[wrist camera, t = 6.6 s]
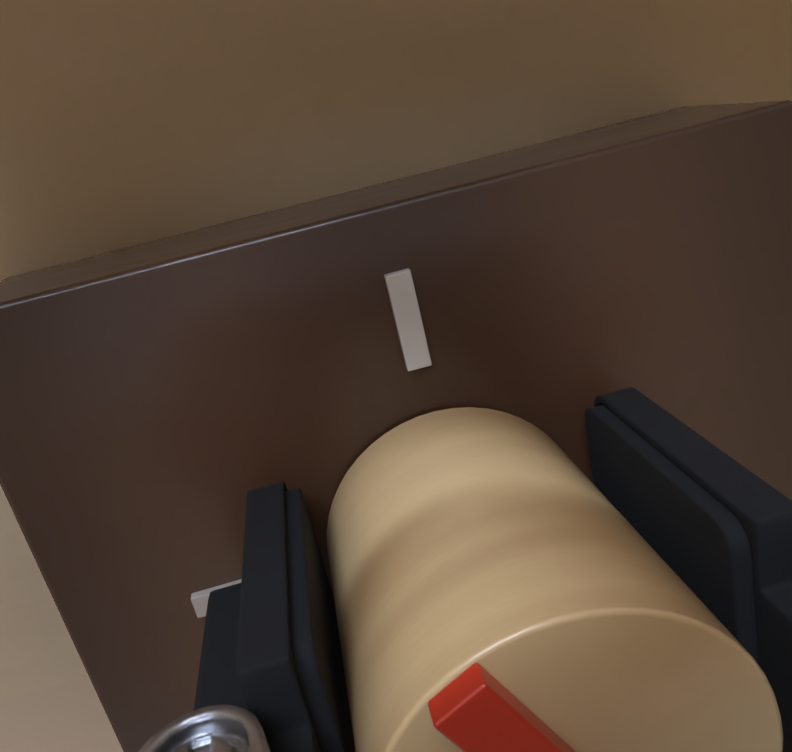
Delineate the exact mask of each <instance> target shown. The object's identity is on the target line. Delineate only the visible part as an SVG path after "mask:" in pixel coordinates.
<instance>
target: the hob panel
mask: <svg viewBox="0 0 792 752" xmlns="http://www.w3.org/2000/svg"><path fill="white" fill-rule="evenodd" d="M630 387H633V388H635V389H637V390H638V391H639V392H641V393H642V394H644V395H645V396H646V397H648V398H649V399H651V400H652V401H653V402H655V403H656V404H658V405H659V406H660V407H662V408H663V409H665V410H666V411H667V412H669V413H670V414H671V415H673V416H674V417H676V418H677V419H678V420H680V421H681V422H683V423H684V424H685V425H687V426H688V427H690V428H691V429H692V430H694V431H695V432H697V433H698V434H699V435H701V436H702V437H704V438H705V439H706V440H708V441H709V442H711V443H712V444H713V445H715V446H716V447H717V448H719V449H720V450H722V451H723V452H724V453H726V454H727V455H729V456H730V457H731V458H733V459H734V460H736V461H737V462H738V463H740V464H741V465H743V466H744V467H745V468H747V469H748V470H750V471H751V472H752V473H754V474H755V475H757V476H758V477H759V478H761V479H762V480H763V481H765V482H766V483H768V484H769V485H770V486H772V487H773V488H775V489H776V490H777V491H779V492H780V493H782V494H783V495H784V496H786V497H787V498H789V499H790V500H791V501H792V101H788V100H787V101H770V102H754V103H737V104H720V105H704V106H687V107H681V108H677V109H673V110H669V111H665V112H661V113H657V114H653V115H649V116H645V117H641V118H637V119H633V120H629V121H625V122H621V123H618V124H614V125H610V126H606V127H602V128H598V129H594V130H590V131H586V132H582V133H578V134H574V135H570V136H566V137H562V138H558V139H554V140H551V141H547V142H543V143H539V144H535V145H531V146H527V147H523V148H519V149H515V150H511V151H507V152H503V153H499V154H495V155H491V156H487V157H484V158H480V159H476V160H472V161H468V162H464V163H460V164H456V165H452V166H448V167H444V168H440V169H436V170H432V171H428V172H424V173H420V174H417V175H413V176H409V177H405V178H401V179H397V180H393V181H389V182H385V183H381V184H377V185H373V186H369V187H365V188H361V189H357V190H353V191H350V192H346V193H342V194H338V195H334V196H330V197H326V198H322V199H318V200H314V201H310V202H306V203H302V204H298V205H294V206H290V207H286V208H283V209H279V210H275V211H271V212H267V213H263V214H259V215H255V216H251V217H247V218H243V219H239V220H235V221H231V222H227V223H223V224H219V225H216V226H212V227H208V228H204V229H200V230H196V231H192V232H188V233H184V234H180V235H176V236H172V237H168V238H164V239H160V240H156V241H152V242H149V243H145V244H141V245H137V246H133V247H129V248H125V249H121V250H117V251H113V252H109V253H105V254H101V255H97V256H93V257H89V258H85V259H81V260H78V261H74V262H70V263H66V264H62V265H58V266H54V267H50V268H46V269H42V270H38V271H34V272H30V273H26V274H22V275H18V276H14V277H11V278H7V279H4V280H2V281H1V282H0V484H1V486H2V489H3V491H4V493H5V495H6V497H7V499H8V502H9V504H10V506H11V508H12V510H13V512H14V515H15V517H16V519H17V521H18V523H19V525H20V528H21V530H22V532H23V534H24V536H25V538H26V541H27V543H28V545H29V547H30V549H31V551H32V554H33V556H34V558H35V560H36V562H37V564H38V567H39V569H40V571H41V573H42V575H43V577H44V580H45V582H46V584H47V586H48V588H49V590H50V593H51V595H52V597H53V599H54V601H55V603H56V606H57V608H58V610H59V612H60V614H61V616H62V619H63V621H64V623H65V625H66V627H67V629H68V632H69V634H70V636H71V638H72V640H73V642H74V645H75V647H76V649H77V651H78V653H79V655H80V658H81V660H82V662H83V664H84V666H85V669H86V671H87V673H88V675H89V677H90V679H91V682H92V684H93V686H94V688H95V690H96V692H97V695H98V697H99V699H100V701H101V703H102V705H103V708H104V710H105V712H106V714H107V716H108V718H109V721H110V723H111V725H112V727H113V729H114V731H115V734H116V736H117V738H118V740H119V742H120V744H121V747H122V749H123V751H124V752H138V751H139V750H140V749H141V748H142V747H143V745H144V744H145V743H146V742H147V740H148V739H149V738H150V737H152V736H153V735H154V734H155V733H156V732H158V731H159V730H160V729H161V728H163V727H164V726H165V725H166V724H168V723H170V722H171V721H173V720H175V719H177V718H178V717H180V716H182V715H184V714H186V713H188V712H191V711H194V703H195V696H196V688H197V681H198V673H199V665H200V658H201V650H202V642H203V635H204V627H205V620H206V612H207V604H208V598H209V594H210V592H212V591H213V590H217V589H220V588H224V587H228V586H231V585H235V584H238V583H241V579H242V563H243V548H244V532H245V516H246V500H247V491H249V490H253V489H257V488H261V487H264V486H268V485H272V484H275V483H279V482H283V481H284V482H285V484H286V487H287V489H288V490H290V489H294V488H297V487H300V488H301V490H302V493H303V496H304V499H305V502H306V506H307V509H308V513H309V516H310V519H311V523H312V526H313V529H314V533H315V536H316V540H317V543H318V546H319V550H320V553H321V557H322V560H323V563H324V567H325V570H326V573H327V577H328V580H329V584H330V587H331V590H332V594H333V588H332V580H331V573H330V566H329V559H328V552H327V525H328V516H329V513H330V509H331V505H332V501H333V499H334V497H335V494H336V492H337V489H338V487H339V485H340V483H341V482H342V480H343V478H344V476H345V475H346V473H347V471H348V470H349V469H350V467H351V466H352V465H353V464H354V462H355V461H356V460H357V458H358V457H359V456H360V455H361V454H362V453H363V452H364V451H365V450H366V449H367V448H368V447H369V446H370V445H371V444H372V443H374V442H375V441H376V440H377V439H379V438H380V437H381V436H383V435H384V434H385V433H387V432H388V431H390V430H392V429H393V428H395V427H397V426H398V425H400V424H402V423H404V422H406V421H409V420H411V419H413V418H415V417H418V416H421V415H424V414H428V413H431V412H434V411H439V410H445V409H450V408H464V407H475V408H488V409H492V410H497V411H502V412H506V413H508V414H511V415H514V416H517V417H520V418H521V419H523V420H525V421H527V422H529V423H531V424H533V425H535V426H536V427H537V428H539V429H540V430H541V431H543V432H544V433H546V434H547V435H548V436H549V437H550V438H551V439H552V440H553V441H554V442H555V443H556V444H557V445H558V446H559V447H560V448H561V449H562V450H563V451H564V453H565V454H566V455H567V456H568V457H569V458H570V459H571V460H572V461H573V462H574V463H575V465H576V466H577V467H578V468H579V469H580V470H581V471H582V472H583V473H584V474H585V475H586V476H587V478H588V479H589V480H590V481H591V482H592V483H593V484H594V480H593V473H592V466H591V459H590V453H589V446H588V439H587V432H586V425H585V411H586V409H588V408H592V407H594V400H595V398H596V397H597V396H600V395H604V394H608V393H611V392H615V391H619V390H622V389H626V388H630ZM333 597H334V595H333Z"/></svg>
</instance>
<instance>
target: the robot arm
mask: <svg viewBox="0 0 792 752" xmlns="http://www.w3.org/2000/svg"><path fill="white" fill-rule="evenodd" d="M585 425H586V432H587V439H588V446H589V453H590V459H591V466H592V473H593V480H594V485H595V486H596V487H597V488H598V489H599V491H600V492H601V493H602V494H603V495H604V496H605V497H606V498H607V499H608V500H609V501H610V503H611V504H612V505H613V506H614V507H615V508H616V509H617V510H618V511H619V512H620V513H621V514H622V516H623V517H624V518H625V519H626V520H627V521H628V522H629V523H630V524H631V525H632V526H633V527H634V529H635V530H636V531H637V532H638V533H639V534H640V535H641V536H642V537H643V538H644V539H645V540H646V542H647V543H648V544H649V545H650V546H651V547H652V548H653V549H654V550H655V551H656V552H657V554H658V555H659V556H660V557H661V558H662V559H663V560H664V561H665V562H666V563H667V564H668V565H669V567H670V568H671V569H672V570H673V571H674V572H675V573H676V574H677V575H678V576H679V577H680V578H681V580H682V581H683V582H684V583H685V584H686V585H687V586H688V587H689V588H690V589H691V590H692V592H693V593H694V594H695V595H696V596H697V597H698V598H699V599H700V600H701V601H702V602H703V603H704V605H705V606H706V607H707V608H708V609H709V610H710V611H711V612H712V613H713V614H714V615H715V616H716V618H717V619H718V620H719V621H720V622H721V623H722V624H723V625H724V626H725V627H726V628H727V630H728V631H729V632H730V633H731V634H732V635H733V636H734V637H735V638H736V639H737V640H738V641H739V643H740V644H741V645H742V646H743V647H744V648H745V649H746V650H747V651H748V652H749V653H750V654H751V656H752V657H753V658H754V659H755V661H756V662H757V664H758V665H759V666H760V668H761V669H762V670H763V672H764V673H765V675H766V677H767V679H768V681H769V683H770V685H771V687H772V689H773V691H774V694H775V697H776V701H777V704H778V708H779V711H780V715H781V721H782V730H783V752H792V501H791V500H790V499H789V498H787V497H786V496H784V495H783V494H782V493H780V492H779V491H777V490H776V489H775V488H773V487H772V486H770V485H769V484H768V483H766V482H765V481H763V480H762V479H761V478H759V477H758V476H757V475H755V474H754V473H752V472H751V471H750V470H748V469H747V468H745V467H744V466H743V465H741V464H740V463H738V462H737V461H736V460H734V459H733V458H731V457H730V456H729V455H727V454H726V453H724V452H723V451H722V450H720V449H719V448H717V447H716V446H715V445H713V444H712V443H711V442H709V441H708V440H706V439H705V438H704V437H702V436H701V435H699V434H698V433H697V432H695V431H694V430H692V429H691V428H690V427H688V426H687V425H685V424H684V423H683V422H681V421H680V420H678V419H677V418H676V417H674V416H673V415H671V414H670V413H669V412H667V411H666V410H665V409H663V408H662V407H660V406H659V405H658V404H656V403H655V402H653V401H652V400H651V399H649V398H648V397H646V396H645V395H644V394H642V393H641V392H639V391H638V390H637V389H635V388H633V387H630V388H626V389H622V390H619V391H615V392H611V393H608V394H604V395H600V396H597V397H596V398H595V400H594V407H592V408H588V409H586V411H585ZM138 752H355V745H354V738H353V731H352V724H351V717H350V709H349V702H348V695H347V688H346V681H345V674H344V666H343V659H342V652H341V645H340V638H339V631H338V623H337V616H336V609H335V602H334V597H333V594H332V590H331V587H330V584H329V580H328V577H327V573H326V570H325V567H324V563H323V560H322V557H321V553H320V550H319V546H318V543H317V540H316V536H315V533H314V529H313V526H312V523H311V519H310V516H309V513H308V509H307V506H306V502H305V499H304V496H303V493H302V490H301V488H300V487H297V488H294V489H290V490H288V489H287V487H286V484H285V482H284V481H283V482H279V483H275V484H272V485H268V486H264V487H261V488H257V489H253V490H249V491H247V500H246V516H245V532H244V548H243V563H242V579H241V583H238V584H235V585H231V586H228V587H224V588H220V589H217V590H213V591H212V592H210V594H209V598H208V604H207V612H206V620H205V627H204V635H203V642H202V650H201V658H200V665H199V673H198V681H197V688H196V696H195V703H194V711H191V712H188V713H186V714H184V715H182V716H180V717H178V718H177V719H175V720H173V721H171V722H170V723H168V724H166V725H165V726H164V727H163V728H161V729H160V730H159V731H158V732H156V733H155V734H154V735H153V736H152V737H150V738H149V739H148V740H147V742H146V743H145V744H144V745H143V747H142V748H141V749H140V750H139V751H138Z"/></svg>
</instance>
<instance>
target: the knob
mask: <svg viewBox="0 0 792 752" xmlns="http://www.w3.org/2000/svg"><path fill="white" fill-rule="evenodd" d="M327 552H328V559H329V566H330V573H331V580H332V588H333V595H334V602H335V609H336V616H337V623H338V631H339V638H340V645H341V652H342V659H343V666H344V674H345V681H346V688H347V695H348V702H349V709H350V717H351V724H352V731H353V738H354V745H355V752H783V730H782V721H781V715H780V711H779V708H778V704H777V701H776V697H775V694H774V691H773V689H772V687H771V685H770V683H769V681H768V679H767V677H766V675H765V673H764V672H763V670H762V669H761V668H760V666H759V665H758V664H757V662H756V661H755V659H754V658H753V657H752V656H751V654H750V653H749V652H748V651H747V650H746V649H745V648H744V647H743V646H742V645H741V644H740V643H739V641H738V640H737V639H736V638H735V637H734V636H733V635H732V634H731V633H730V632H729V631H728V630H727V628H726V627H725V626H724V625H723V624H722V623H721V622H720V621H719V620H718V619H717V618H716V616H715V615H714V614H713V613H712V612H711V611H710V610H709V609H708V608H707V607H706V606H705V605H704V603H703V602H702V601H701V600H700V599H699V598H698V597H697V596H696V595H695V594H694V593H693V592H692V590H691V589H690V588H689V587H688V586H687V585H686V584H685V583H684V582H683V581H682V580H681V578H680V577H679V576H678V575H677V574H676V573H675V572H674V571H673V570H672V569H671V568H670V567H669V565H668V564H667V563H666V562H665V561H664V560H663V559H662V558H661V557H660V556H659V555H658V554H657V552H656V551H655V550H654V549H653V548H652V547H651V546H650V545H649V544H648V543H647V542H646V540H645V539H644V538H643V537H642V536H641V535H640V534H639V533H638V532H637V531H636V530H635V529H634V527H633V526H632V525H631V524H630V523H629V522H628V521H627V520H626V519H625V518H624V517H623V516H622V514H621V513H620V512H619V511H618V510H617V509H616V508H615V507H614V506H613V505H612V504H611V503H610V501H609V500H608V499H607V498H606V497H605V496H604V495H603V494H602V493H601V492H600V491H599V489H598V488H597V487H596V486H595V485H594V484H593V483H592V482H591V481H590V480H589V479H588V478H587V476H586V475H585V474H584V473H583V472H582V471H581V470H580V469H579V468H578V467H577V466H576V465H575V463H574V462H573V461H572V460H571V459H570V458H569V457H568V456H567V455H566V454H565V453H564V451H563V450H562V449H561V448H560V447H559V446H558V445H557V444H556V443H555V442H554V441H553V440H552V439H551V438H550V437H549V436H548V435H547V434H546V433H544V432H543V431H541V430H540V429H539V428H537V427H536V426H535V425H533V424H531V423H529V422H527V421H525V420H523V419H521V418H520V417H517V416H514V415H511V414H508V413H506V412H502V411H497V410H492V409H488V408H475V407H464V408H450V409H445V410H439V411H434V412H431V413H428V414H424V415H421V416H418V417H415V418H413V419H411V420H409V421H406V422H404V423H402V424H400V425H398V426H397V427H395V428H393V429H392V430H390V431H388V432H387V433H385V434H384V435H383V436H381V437H380V438H379V439H377V440H376V441H375V442H374V443H372V444H371V445H370V446H369V447H368V448H367V449H366V450H365V451H364V452H363V453H362V454H361V455H360V456H359V457H358V458H357V460H356V461H355V462H354V464H353V465H352V466H351V467H350V469H349V470H348V471H347V473H346V475H345V476H344V478H343V480H342V482H341V483H340V485H339V487H338V489H337V492H336V494H335V497H334V499H333V501H332V505H331V509H330V513H329V516H328V525H327Z"/></svg>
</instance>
